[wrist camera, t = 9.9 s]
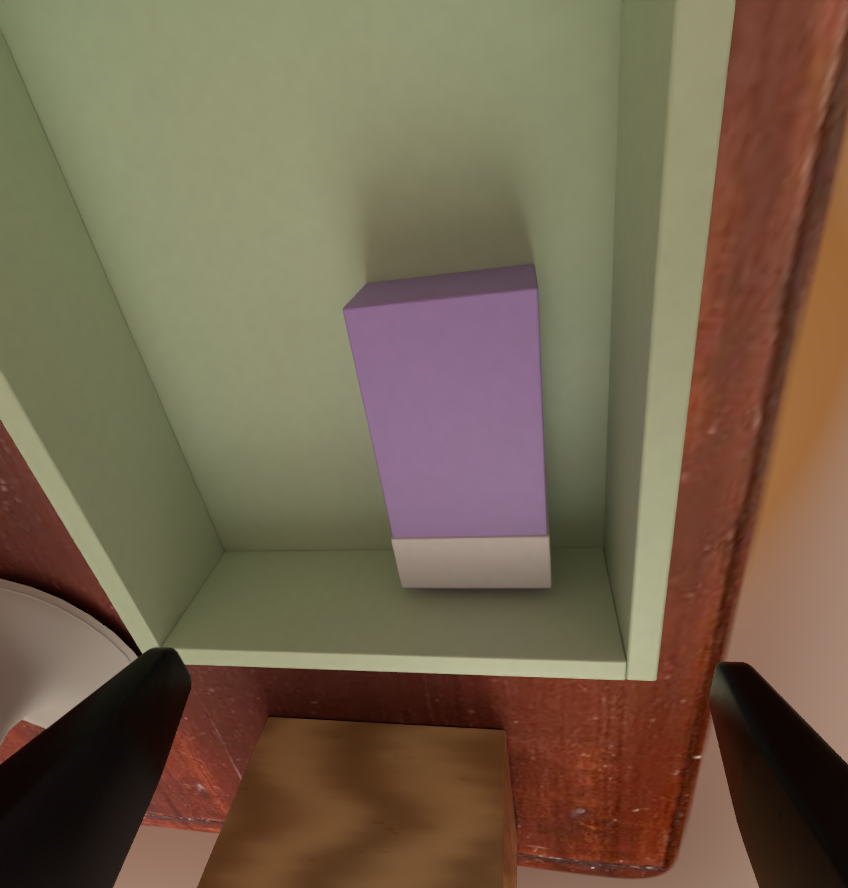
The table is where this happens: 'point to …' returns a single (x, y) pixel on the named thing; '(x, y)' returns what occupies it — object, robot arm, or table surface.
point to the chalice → (50, 656)
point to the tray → (333, 285)
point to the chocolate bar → (457, 424)
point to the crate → (369, 809)
